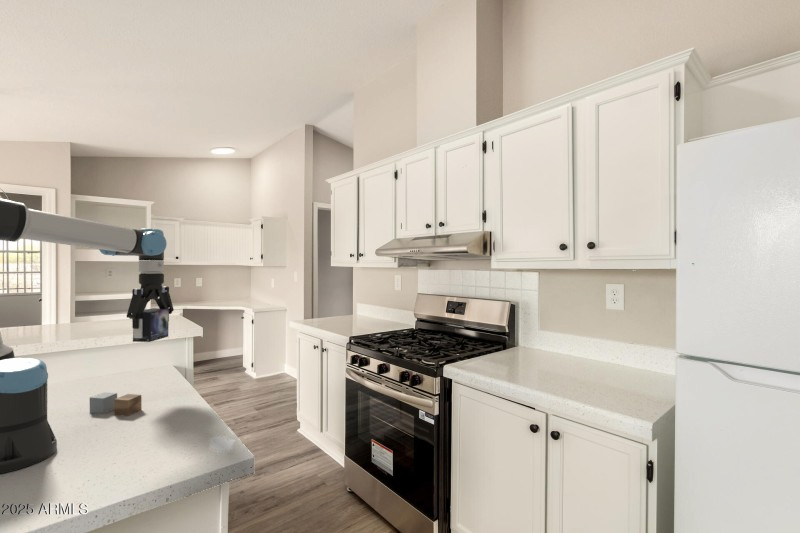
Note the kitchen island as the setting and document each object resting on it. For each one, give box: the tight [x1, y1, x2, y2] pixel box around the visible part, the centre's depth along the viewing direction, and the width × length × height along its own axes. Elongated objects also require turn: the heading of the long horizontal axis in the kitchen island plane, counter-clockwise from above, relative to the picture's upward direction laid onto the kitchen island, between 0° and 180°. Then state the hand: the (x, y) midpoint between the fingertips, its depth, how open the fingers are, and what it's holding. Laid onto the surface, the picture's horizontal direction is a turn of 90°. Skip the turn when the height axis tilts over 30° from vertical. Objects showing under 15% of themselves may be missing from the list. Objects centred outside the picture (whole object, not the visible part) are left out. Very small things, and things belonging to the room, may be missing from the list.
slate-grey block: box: [89, 391, 118, 415], centre depth 125 cm, size 5×5×5 cm
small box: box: [132, 307, 170, 343], centre depth 138 cm, size 11×6×10 cm, turn 179°
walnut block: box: [113, 393, 143, 417], centre depth 123 cm, size 5×5×5 cm
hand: (151, 334), depth 138 cm, fingers closed on small box, 11 cm apart
